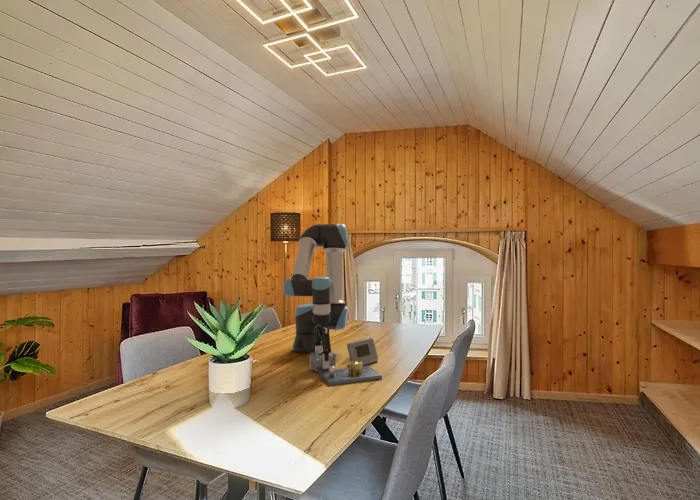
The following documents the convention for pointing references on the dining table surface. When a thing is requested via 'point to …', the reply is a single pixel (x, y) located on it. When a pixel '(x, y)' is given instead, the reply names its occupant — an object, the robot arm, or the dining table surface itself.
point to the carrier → (349, 374)
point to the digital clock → (363, 351)
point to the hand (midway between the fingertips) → (322, 364)
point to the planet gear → (320, 361)
